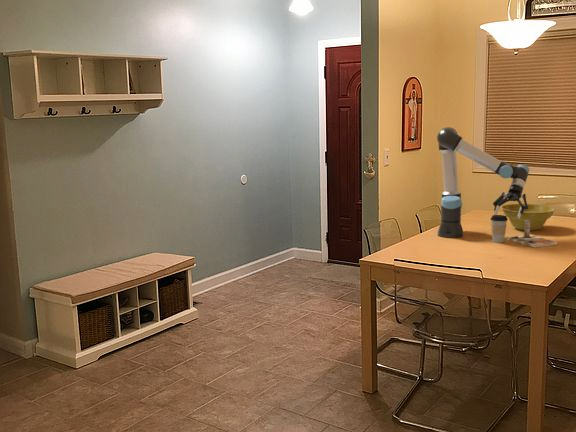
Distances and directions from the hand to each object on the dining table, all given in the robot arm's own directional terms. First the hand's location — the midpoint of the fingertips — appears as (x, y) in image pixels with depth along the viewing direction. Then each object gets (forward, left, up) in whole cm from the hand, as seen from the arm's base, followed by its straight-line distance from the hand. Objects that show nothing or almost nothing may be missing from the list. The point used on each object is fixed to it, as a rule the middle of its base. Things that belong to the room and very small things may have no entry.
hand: (506, 216), depth 363 cm
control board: (+12, +9, -14) cm, 20 cm away
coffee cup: (+3, -7, -14) cm, 16 cm away
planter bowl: (-20, +33, -14) cm, 41 cm away
